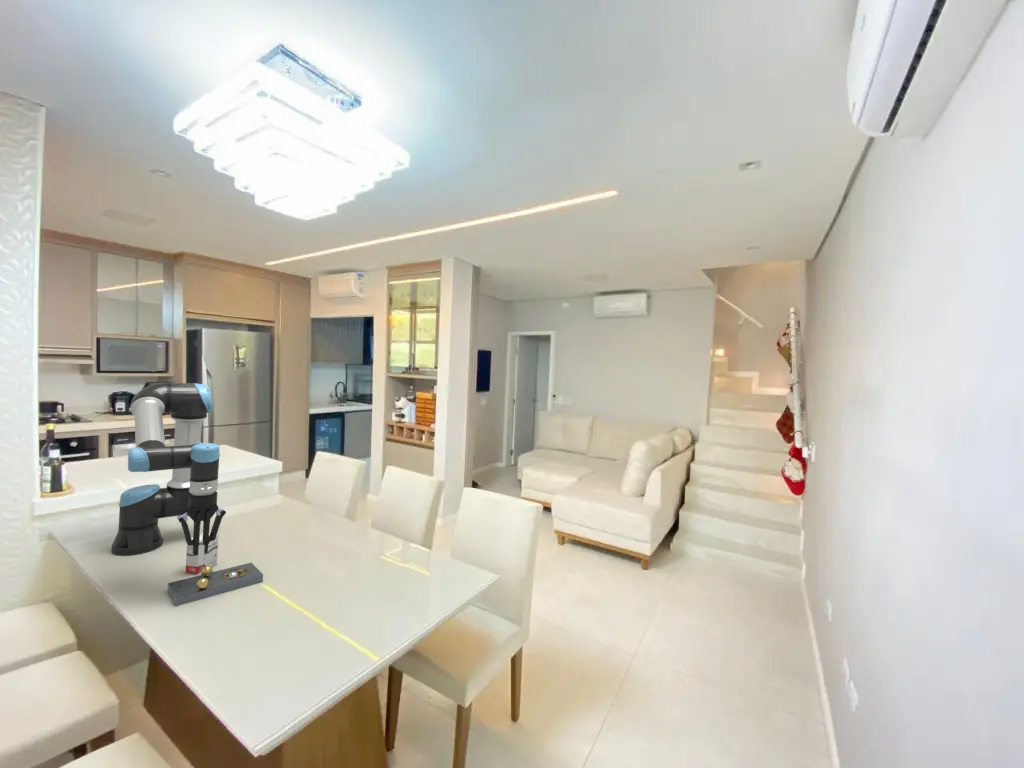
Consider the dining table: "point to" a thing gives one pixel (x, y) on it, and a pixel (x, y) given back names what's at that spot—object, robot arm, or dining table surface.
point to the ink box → (209, 557)
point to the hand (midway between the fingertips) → (199, 563)
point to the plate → (214, 583)
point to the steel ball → (233, 574)
